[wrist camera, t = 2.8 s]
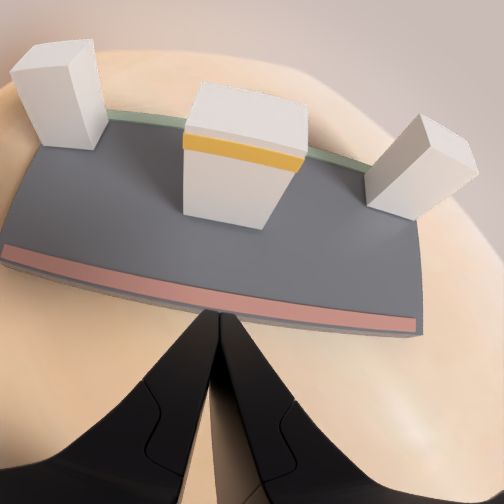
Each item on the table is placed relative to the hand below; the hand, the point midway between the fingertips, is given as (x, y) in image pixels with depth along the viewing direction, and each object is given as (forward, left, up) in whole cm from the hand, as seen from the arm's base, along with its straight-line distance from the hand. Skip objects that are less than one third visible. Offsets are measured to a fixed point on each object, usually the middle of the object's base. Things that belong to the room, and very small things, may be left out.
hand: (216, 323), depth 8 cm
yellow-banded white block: (+3, +8, -8) cm, 12 cm away
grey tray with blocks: (+3, +8, -11) cm, 14 cm away
